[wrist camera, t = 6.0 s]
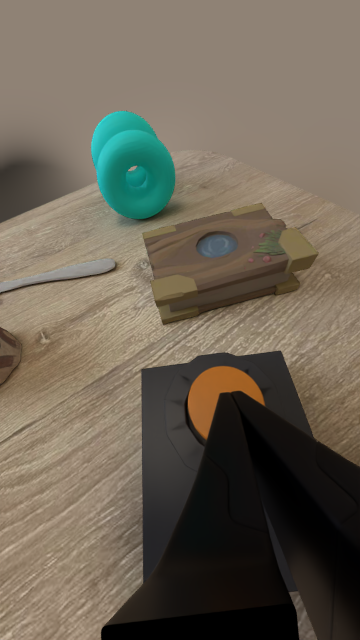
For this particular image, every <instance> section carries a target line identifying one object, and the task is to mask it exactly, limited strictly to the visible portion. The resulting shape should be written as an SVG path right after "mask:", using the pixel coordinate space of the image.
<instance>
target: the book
mask: <svg viewBox="0 0 360 640" xmlns="http://www.w3.org/2000/svg"><path fill="white" fill-rule="evenodd" d="M142 235H143V239H144V242H145V246H146V249H147V254H148V257H149V261H150V264H151V267H152V270H153V276H154V280H152V281H150V283H151V287H152V291H153V295H154V299H155V303H156V306H157V307H158V308H159V312H160V316H161V320H162V323H163V325H164V324H166V323H169V322H173V321H176V320H181V319H187V318H190V317H194V316H198V315H199V313H201V312H205V311H209V310H212V309H216V308H220V307H223V306H227V305H231V304H234V303H238V302H242V301H245V300H249V299H253V298H256V297H260V296H264V295H267V294H271V293H275V295H279V294H283V293H287V292H290V291H294V290H297V288H298V287H299V285H300V284H301V283H300V282H299V281H298V280H297V278H296V277H295V276H294V274H293V272H296V271H300V270H304V269H308V268H310V267H311V265H312V263H313V262H314V260H315V259H316V257H317V255H318V254H319V253H318V252H317V251H316V250H315V248H314V247H313V246H312V245H311V244H310V243H309V242H308V241H307V240H306V239H305V237H304V236H303V235H302V234H301V233H300V232H299V231H298V229H297V228H296V227H293V228H290V229H288V228H286V225H285V223H284V221H282V220H281V219H272V217H271V215H270V214H269V213H268V211H267V210H266V208H265V207H264V206H263V204H262V203H259V204H254V205H250V206H246V207H242V208H238V209H234V210H231V211H230V212H225V213H221V214H216V215H212V216H208V217H204V218H200V219H196V220H192V221H188V222H184V223H180V224H177V225H171V226H167V227H162V228H159V229H155V230H152V231H149V232H144V233H142Z"/></svg>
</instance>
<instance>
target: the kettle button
mask: <svg viewBox="0 0 360 640" xmlns="http://www.w3.org/2000/svg"><path fill="white" fill-rule="evenodd" d="M239 390H240V391H243V392H244V393H246V394H247V395H249V396H250V397H252V398H253V399H255V400H256V401H258V402H259V403H261V404H262V405H264V406H265V402H264V398H263V395H262V393H261V391H260V389H259V387H258V385H257V384H256V383H255V381H254V380H253V379H252V378H251V377H250V376H249V375H247V374H246V373H244V372H243V371H241V370H239V369H236V368H233V367H229V366H217V367H213V368H210V369H208V370H206V371H204V372H203V373H201V374H200V375H199V376H198V377H197V378H196V379H195V381H194V382H193V384H192V386H191V388H190V391H189V396H188V410H189V414H190V418H191V420H192V422H193V424H194V426H195V428H196V430H197V431H198V432H199V434H200V435H201V436H202V437H203V438H204V439H206V440H207V437H208V433H209V430H210V426H211V423H212V419H213V415H214V412H215V408H216V404H217V401H218V397H219V394H220V393H223V392H230V393H231V392H232V391H239Z"/></svg>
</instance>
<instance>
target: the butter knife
mask: <svg viewBox="0 0 360 640" xmlns="http://www.w3.org/2000/svg"><path fill="white" fill-rule="evenodd" d="M114 267H115V260H114V259H100V260H94V261H90V262H85V263H81V264H76V265H72V266H68V267H64V268H61V269H57V270H53V271H50V272H46V273H42V274H38V275H34V276H30V277H25V278H21V279H16V280H12V281H7V282H2V283H0V292H3V291H7V290H11V289H14V288H18V287H21V286H24V285H29V284H34V283H40V282H45V281H52V280H60V279H70V278H76V277H82V276H88V275H93V274H98V273H102V272H106V271H109V270H111V269H112V268H114Z"/></svg>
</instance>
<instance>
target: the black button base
mask: <svg viewBox="0 0 360 640" xmlns="http://www.w3.org/2000/svg"><path fill="white" fill-rule="evenodd" d="M217 366H229V367H233V368H236V369H239V370H241V371H243V372H244V373H246V374H247V375H249V376H250V377H251V378H252V379H253V380H254V381H255V383H256V384H257V385H258V387H259V389H260V391H261V393H262V395H263V398H264V402H265V407H267V408H268V409H270V410H272V411H273V412H275V413H276V414H278V415H279V416H281V417H282V418H284V419H285V420H287V421H288V422H290V423H291V424H293V425H294V426H296V427H298V428H299V429H301V430H302V431H304V432H305V433H307V434H308V435H310V436H311V437H313V434H312V431H311V429H310V426H309V423H308V421H307V418H306V415H305V413H304V410H303V408H302V405H301V402H300V400H299V397H298V394H297V392H296V389H295V386H294V384H293V381H292V378H291V376H290V373H289V371H288V368H287V365H286V363H285V360H284V357H283V355H282V352H281V351H274V352H266V353H259V354H251V355H244V356H235V355H232V354H229V353H225V352H224V353H216V354H209V355H201V356H197V357H196V358H195V359H193V360H192V361H191V362H189V363H184V364H177V365H169V366H162V367H154V368H147V369H142V370H141V372H142V487H143V583H144V582H145V581H146V580H147V579H148V578H149V576H150V575H151V573H152V572H153V571H154V569H155V567H156V566H157V564H158V562H159V561H160V559H161V557H162V555H163V553H164V551H165V548H166V546H167V544H168V542H169V539H170V537H171V535H172V533H173V530H174V528H175V526H176V523H177V521H178V519H179V517H180V514H181V512H182V510H183V507H184V505H185V503H186V501H187V498H188V496H189V493H190V491H191V488H192V486H193V483H194V481H195V478H196V475H197V472H198V469H199V465H200V462H201V458H202V455H203V451H204V448H205V444H206V441H207V440H206V439H204V438H203V437H202V436H201V435H200V434H199V432H198V431H197V430H196V428H195V426H194V424H193V422H192V420H191V418H190V414H189V410H188V396H189V391H190V388H191V386H192V384H193V382H194V381H195V379H196V378H197V377H198V376H199V375H200V374H201V373H203V372H204V371H206V370H208V369H210V368H213V367H217ZM313 438H314V437H313ZM261 500H262V499H261ZM262 504H263V502H262ZM263 508H264V512H265V516H266V520H267V525H268V529H269V533H270V538H271V541H272V545H273V549H274V553H275V556H276V559H277V563H278V566H279V569H280V572H281V574H282V577H283V579H284V582H285V584H286V587H287V589H288V592H293V591H298V589H297V587H296V584H295V582H294V579H293V577H292V574H291V572H290V569H289V567H288V564H287V562H286V559H285V557H284V554H283V552H282V549H281V547H280V544H279V542H278V539H277V537H276V534H275V532H274V529H273V527H272V524H271V522H270V519H269V517H268V514H267V512H266V509H265V507H264V504H263Z"/></svg>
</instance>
